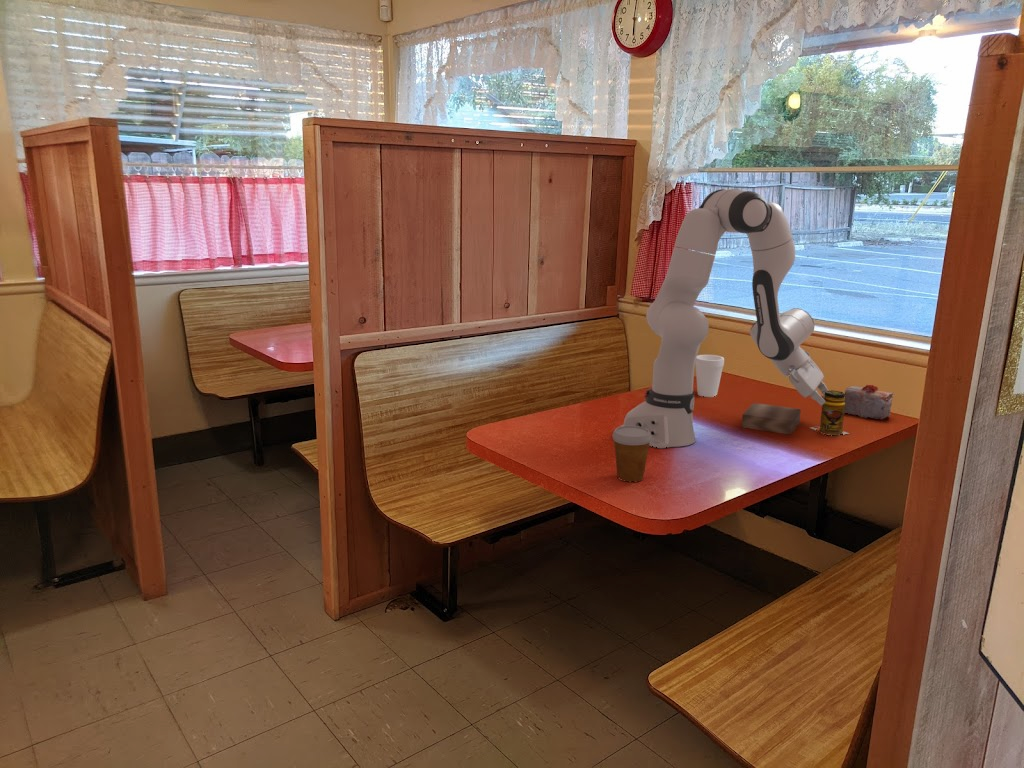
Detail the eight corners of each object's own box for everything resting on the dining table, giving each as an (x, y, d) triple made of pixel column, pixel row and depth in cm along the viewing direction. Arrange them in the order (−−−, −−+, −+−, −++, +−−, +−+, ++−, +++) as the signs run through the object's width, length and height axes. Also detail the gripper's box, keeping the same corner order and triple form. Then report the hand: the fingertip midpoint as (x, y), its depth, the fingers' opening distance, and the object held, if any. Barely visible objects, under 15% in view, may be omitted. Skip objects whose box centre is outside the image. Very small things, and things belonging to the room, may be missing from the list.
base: (741, 427, 222) (742, 414, 221) (752, 415, 234) (753, 402, 233) (791, 434, 215) (792, 421, 214) (799, 421, 227) (800, 409, 226)
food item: (893, 417, 232) (897, 386, 229) (886, 423, 226) (890, 391, 223) (847, 409, 240) (850, 379, 238) (839, 414, 234) (843, 384, 232)
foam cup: (691, 390, 262) (693, 354, 258) (717, 391, 261) (720, 354, 258) (696, 398, 253) (698, 360, 249) (724, 398, 252) (726, 360, 249)
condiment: (828, 436, 213) (833, 396, 210) (808, 428, 221) (812, 388, 218) (849, 434, 215) (854, 394, 212) (829, 425, 223) (833, 386, 220)
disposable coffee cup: (645, 470, 188) (647, 424, 185) (653, 484, 179) (656, 437, 176) (607, 470, 188) (609, 425, 185) (614, 485, 179) (615, 437, 176)
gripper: (795, 363, 209) (830, 401, 207) (808, 350, 226) (839, 385, 224) (777, 377, 212) (811, 415, 210) (791, 362, 229) (822, 397, 227)
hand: (826, 399), depth 217 cm, fingers open, 8 cm apart
